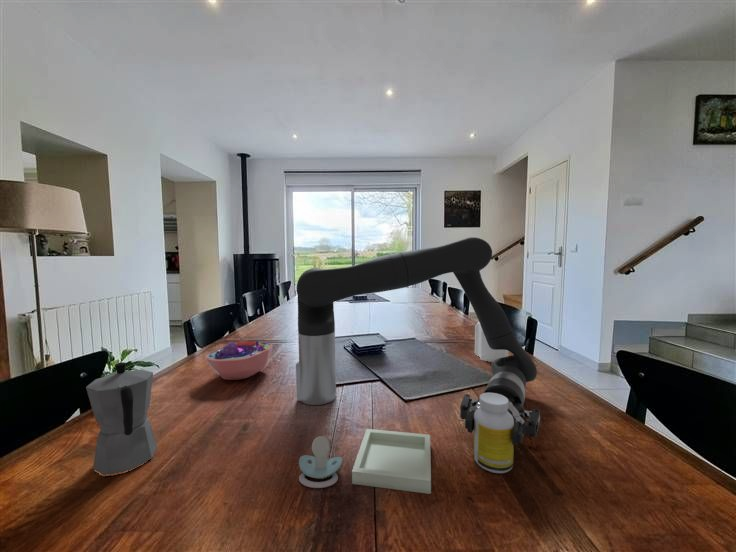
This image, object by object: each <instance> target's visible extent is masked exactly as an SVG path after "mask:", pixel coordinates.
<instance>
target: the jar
mask: <svg viewBox="0 0 736 552" xmlns="http://www.w3.org/2000/svg"><path fill="white" fill-rule="evenodd" d="M509 353H510V351H508V350H494V349H491V348H490V347H489V345H488V343H487V340H486V338H485V335H484V333H483V330H482V328H481V325H480V322H479V321H478V322H477V323H476V324H475V326H474V355H475V356H477V357H478V356H479V357H480V358H479V357H478V358H479V359H480V360H481V361H483V362H487V361H488V362H487V363H492V362H493V361H494V360H496V359H498V358H502V357H507V356H510V355H509Z"/></svg>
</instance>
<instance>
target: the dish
mask: <svg viewBox="0 0 736 552" xmlns="http://www.w3.org/2000/svg"><path fill="white" fill-rule="evenodd" d="M431 465H432V463H431V434H428V433H427V434H426V433H425V434H424V433H413V432H406V431H394V430H393V431H392V430H384V429H383V430H382V429H374V428H373V429H372V428H366V429H365V433H364V436H363V438H362V441H361V443H360V447H359V450H358V453H357V455H356V458H355V461H354V464H353V467H352V470H351V484H352V485H358V486H365V487H366V486H367V487H373V488H382V489H390V490H396V491H397V490H398V491H406V492H413V493H418V494H419V493H420V494H421V493H422V494H428V495H429V494H430V495H431V494H432V469H431V468H432V466H431Z"/></svg>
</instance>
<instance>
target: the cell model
mask: <svg viewBox="0 0 736 552" xmlns="http://www.w3.org/2000/svg"><path fill="white" fill-rule="evenodd" d="M272 355H273V344H272V343H270V342H266V341H258V340H256V341H252V342H251V341H250V342H249V341H248V342H246V341H245V342H233V341H230V342H228V343H226V344H225V345H222V346H220V347H218V348H216V349H213V350H212V351H210V352H208V353H206V354H205V356H204V358H205V361H206V362H207V363H208V365H209V366H210V368H211V369H212V370H214V371H215V373H216V374H217V375H218V376H219V377H220V378H222V379H223V380H227V381H240V380H246V379H248V378H251V377H252V376H255V375H256V374H257V373H259V372H261V371H262V370H263V369H264V368H265V367H266V366H267V364H268V363H269V361H270V360H271V358H272Z"/></svg>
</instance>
